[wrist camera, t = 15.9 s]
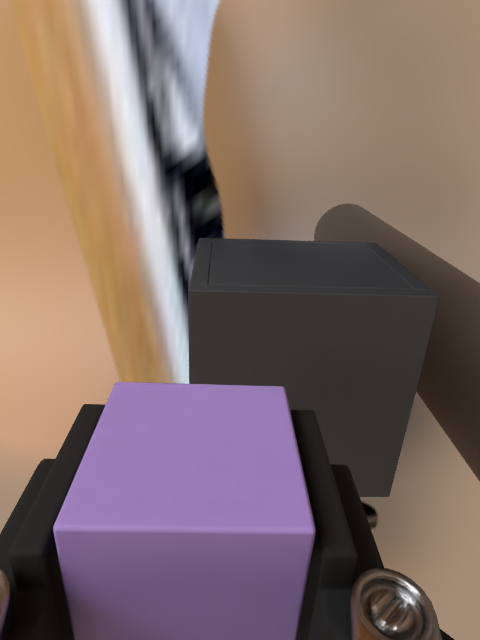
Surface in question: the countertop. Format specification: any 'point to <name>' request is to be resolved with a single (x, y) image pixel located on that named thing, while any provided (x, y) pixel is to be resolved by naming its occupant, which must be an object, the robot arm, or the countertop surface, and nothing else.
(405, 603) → the robot arm
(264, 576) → the lavender cube
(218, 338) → the compartment
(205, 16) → the countertop surface
